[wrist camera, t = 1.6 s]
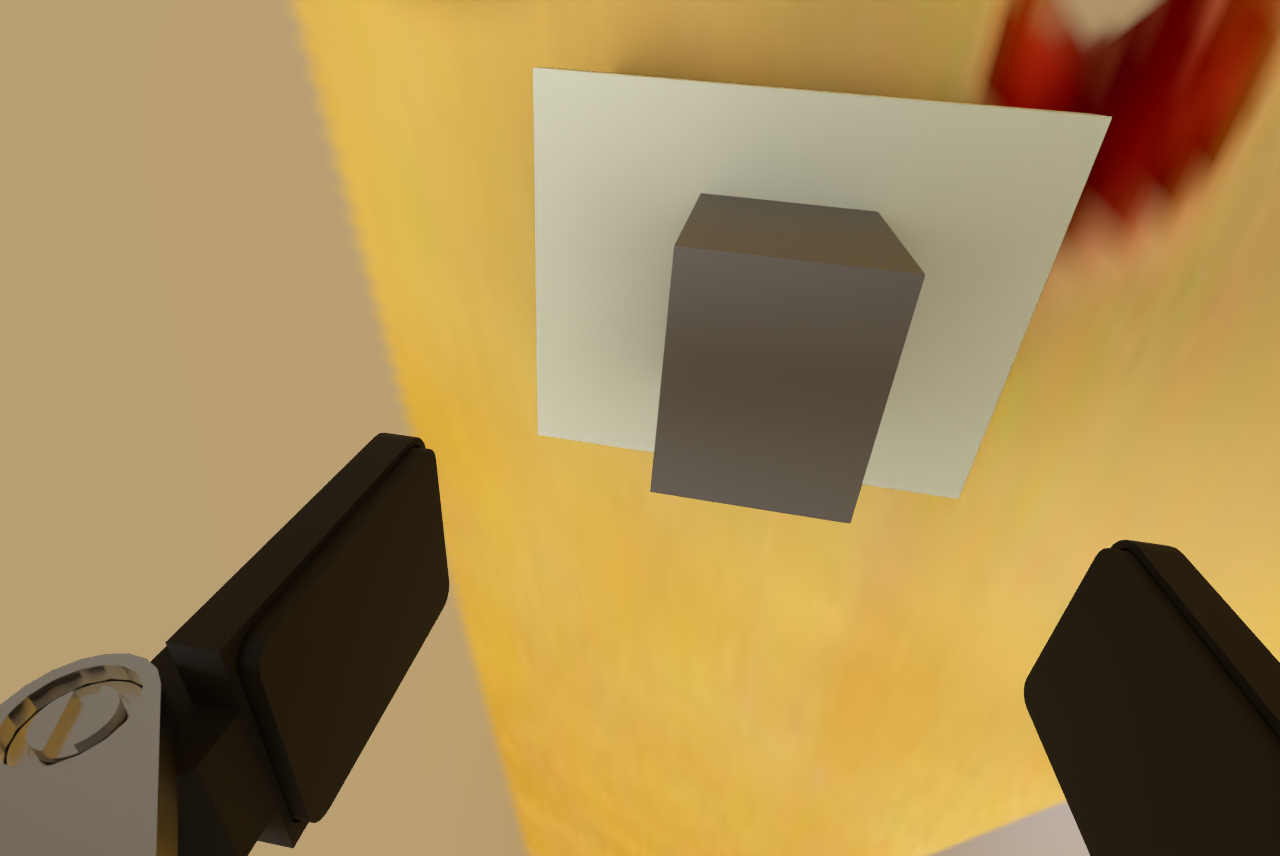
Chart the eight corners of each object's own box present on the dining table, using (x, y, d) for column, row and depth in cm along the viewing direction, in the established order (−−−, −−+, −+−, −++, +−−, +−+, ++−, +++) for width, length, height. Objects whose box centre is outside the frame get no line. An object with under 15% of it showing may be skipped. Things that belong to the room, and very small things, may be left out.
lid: (1074, 111, 17) (1288, 143, 10) (942, 463, 23) (1020, 639, 16) (556, 67, 19) (430, 68, 12) (555, 406, 24) (470, 543, 17)
